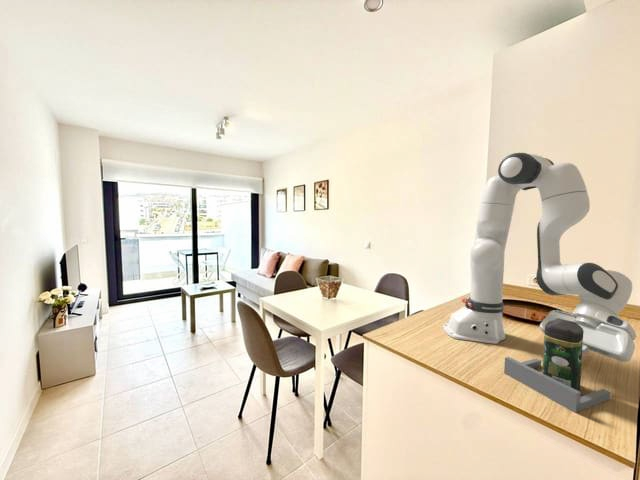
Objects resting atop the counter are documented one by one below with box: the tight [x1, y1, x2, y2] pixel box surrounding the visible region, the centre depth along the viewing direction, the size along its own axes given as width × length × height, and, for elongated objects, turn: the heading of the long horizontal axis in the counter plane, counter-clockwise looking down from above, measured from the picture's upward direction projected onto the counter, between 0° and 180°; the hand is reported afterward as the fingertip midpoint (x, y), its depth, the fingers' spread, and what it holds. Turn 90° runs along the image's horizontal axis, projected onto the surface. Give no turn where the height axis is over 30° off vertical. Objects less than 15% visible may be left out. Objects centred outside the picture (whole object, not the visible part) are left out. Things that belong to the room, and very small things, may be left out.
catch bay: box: [503, 356, 612, 414], centre depth 76 cm, size 14×18×5 cm
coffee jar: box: [541, 319, 584, 392], centre depth 76 cm, size 10×8×19 cm
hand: (569, 356), depth 78 cm, fingers closed, pressing on coffee jar
